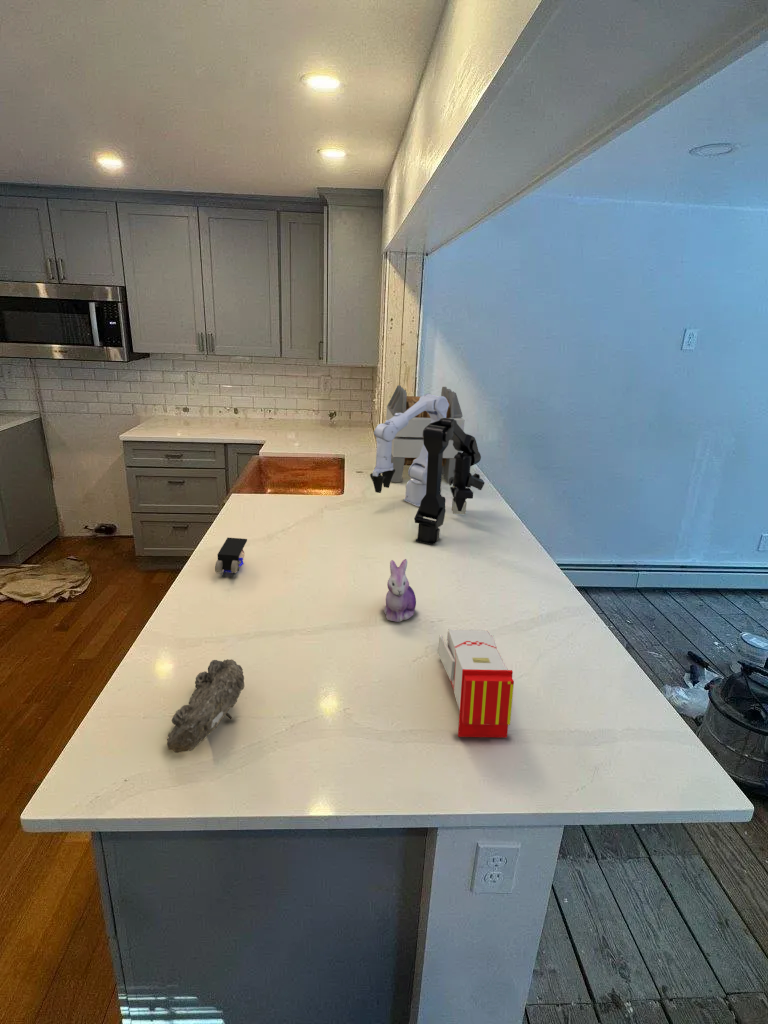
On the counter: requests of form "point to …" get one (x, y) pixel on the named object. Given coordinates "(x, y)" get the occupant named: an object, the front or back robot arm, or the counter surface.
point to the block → (455, 510)
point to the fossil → (206, 705)
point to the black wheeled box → (230, 556)
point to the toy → (478, 682)
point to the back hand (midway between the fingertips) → (382, 489)
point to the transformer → (419, 432)
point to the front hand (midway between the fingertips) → (458, 509)
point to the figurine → (399, 594)
